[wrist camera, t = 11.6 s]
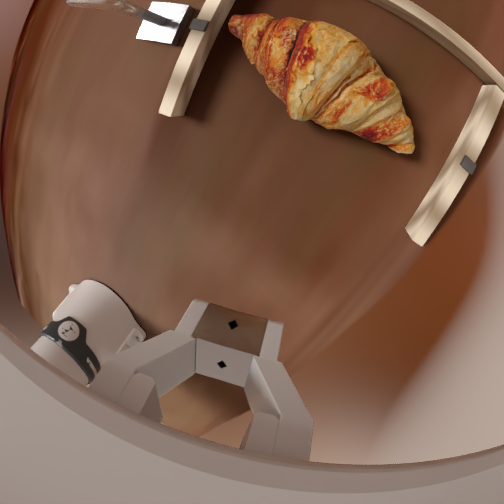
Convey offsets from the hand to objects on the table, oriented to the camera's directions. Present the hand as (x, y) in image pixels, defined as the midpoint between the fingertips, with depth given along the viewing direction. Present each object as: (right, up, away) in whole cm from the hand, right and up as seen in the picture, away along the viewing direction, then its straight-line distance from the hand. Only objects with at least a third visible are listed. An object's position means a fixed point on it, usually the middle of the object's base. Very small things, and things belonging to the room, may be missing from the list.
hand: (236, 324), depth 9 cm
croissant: (+8, +19, +13) cm, 24 cm away
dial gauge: (-9, +28, +12) cm, 31 cm away
